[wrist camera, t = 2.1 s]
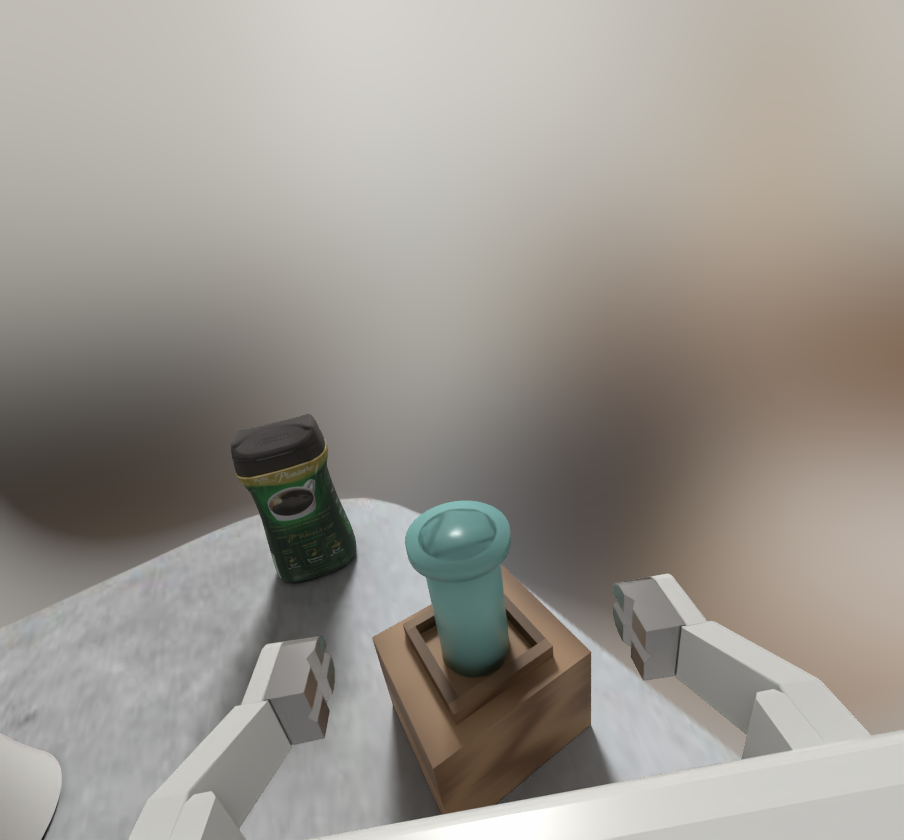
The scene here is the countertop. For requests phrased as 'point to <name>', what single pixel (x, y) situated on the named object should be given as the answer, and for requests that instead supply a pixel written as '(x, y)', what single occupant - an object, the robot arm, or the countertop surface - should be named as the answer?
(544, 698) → the walnut box
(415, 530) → the stopper cap
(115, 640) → the countertop surface
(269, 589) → the countertop surface
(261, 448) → the coffee jar
